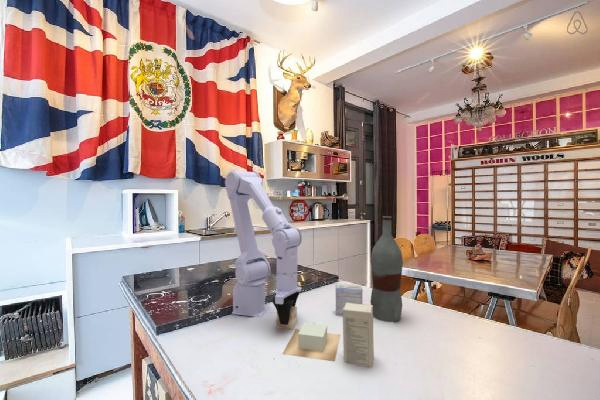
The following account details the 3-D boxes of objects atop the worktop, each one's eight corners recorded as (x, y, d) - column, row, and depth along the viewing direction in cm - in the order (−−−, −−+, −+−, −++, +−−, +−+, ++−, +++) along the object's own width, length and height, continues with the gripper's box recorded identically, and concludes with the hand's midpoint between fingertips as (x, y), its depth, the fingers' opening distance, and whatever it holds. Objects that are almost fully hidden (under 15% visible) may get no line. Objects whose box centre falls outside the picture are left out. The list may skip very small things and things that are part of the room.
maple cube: (276, 327, 79) (276, 311, 79) (281, 320, 84) (281, 305, 83) (292, 329, 78) (292, 313, 78) (296, 322, 83) (296, 306, 82)
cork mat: (282, 355, 67) (282, 353, 67) (295, 330, 78) (295, 329, 78) (334, 363, 64) (334, 361, 64) (340, 336, 75) (340, 334, 75)
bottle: (367, 309, 92) (368, 215, 91) (396, 310, 91) (397, 215, 90) (373, 323, 82) (374, 218, 81) (406, 323, 82) (408, 218, 81)
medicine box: (360, 311, 90) (361, 284, 90) (362, 318, 86) (362, 289, 86) (335, 310, 91) (335, 283, 91) (335, 316, 87) (335, 288, 86)
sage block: (298, 348, 69) (298, 334, 69) (304, 336, 75) (304, 322, 74) (323, 351, 67) (323, 337, 67) (327, 338, 73) (327, 325, 73)
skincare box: (374, 358, 65) (374, 304, 65) (372, 369, 61) (372, 312, 61) (345, 353, 68) (345, 301, 67) (342, 363, 63) (342, 308, 63)
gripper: (294, 280, 72) (294, 334, 73) (306, 265, 86) (306, 310, 87) (267, 278, 74) (267, 330, 75) (284, 264, 88) (284, 308, 89)
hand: (286, 319), depth 81 cm, fingers closed on maple cube, 4 cm apart
